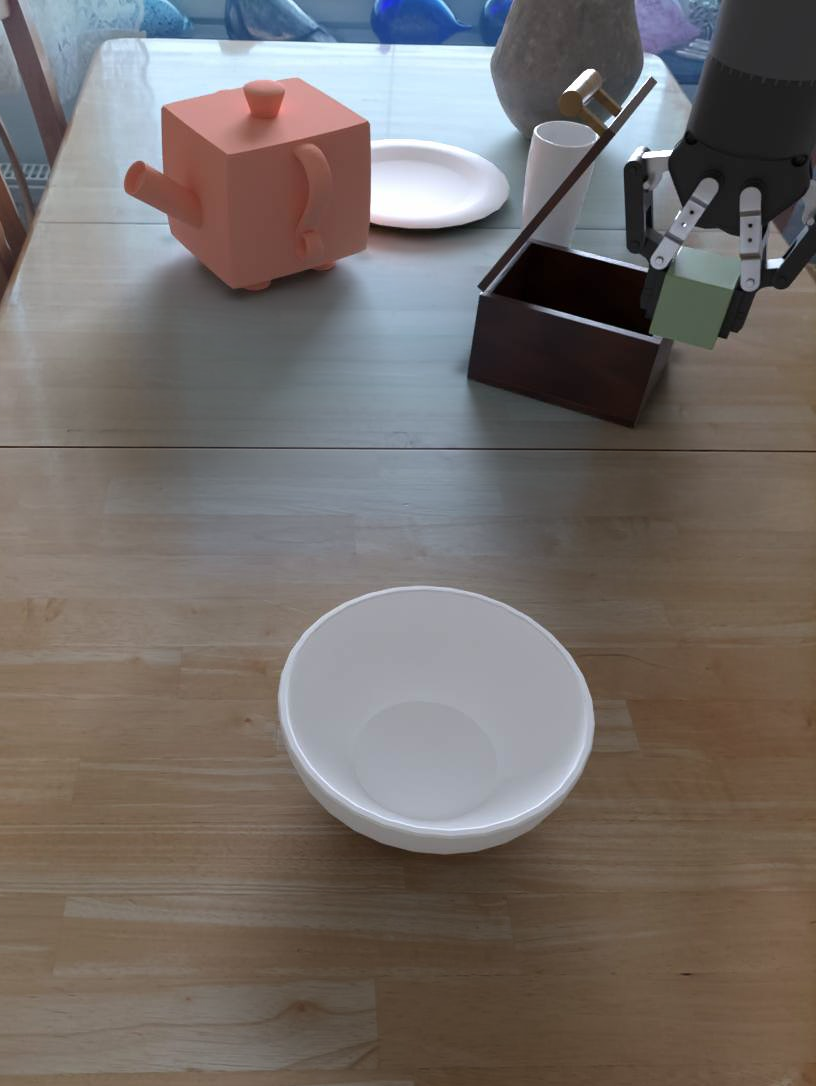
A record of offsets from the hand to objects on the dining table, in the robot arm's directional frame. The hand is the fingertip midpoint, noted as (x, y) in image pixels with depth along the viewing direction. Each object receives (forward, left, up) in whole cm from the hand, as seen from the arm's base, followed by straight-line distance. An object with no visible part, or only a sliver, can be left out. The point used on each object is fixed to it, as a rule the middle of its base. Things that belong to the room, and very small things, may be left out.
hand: (688, 322), depth 67 cm
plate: (+41, -48, -19) cm, 66 cm away
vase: (+31, -75, -19) cm, 84 cm away
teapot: (+50, -22, -19) cm, 58 cm away
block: (0, 0, 0) cm, 0 cm away
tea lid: (+15, -20, -2) cm, 25 cm away
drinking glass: (+20, -37, -19) cm, 46 cm away
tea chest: (+11, -20, -19) cm, 30 cm away
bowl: (+5, +30, -19) cm, 36 cm away
